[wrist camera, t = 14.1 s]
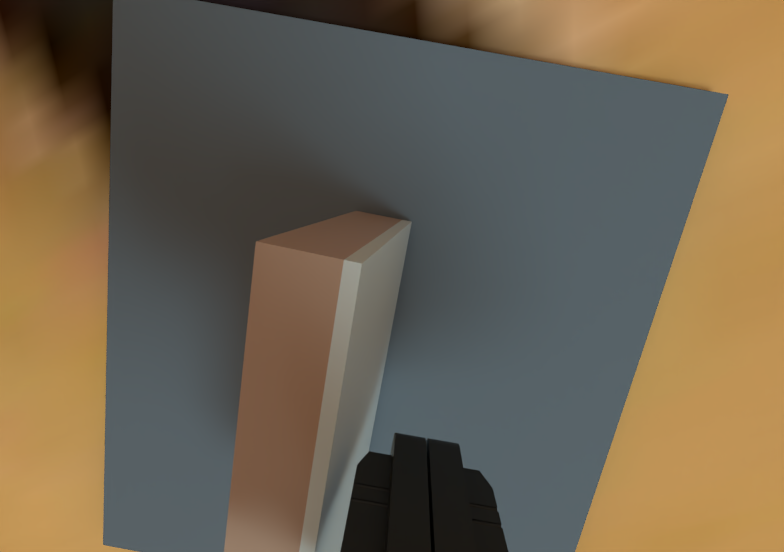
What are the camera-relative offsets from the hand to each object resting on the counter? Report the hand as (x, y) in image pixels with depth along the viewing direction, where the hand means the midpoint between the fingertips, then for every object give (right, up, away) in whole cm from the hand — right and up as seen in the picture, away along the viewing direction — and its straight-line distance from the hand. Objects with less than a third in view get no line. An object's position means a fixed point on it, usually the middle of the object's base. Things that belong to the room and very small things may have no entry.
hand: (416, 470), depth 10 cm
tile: (-2, +2, +5) cm, 5 cm away
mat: (-1, +2, +5) cm, 6 cm away
